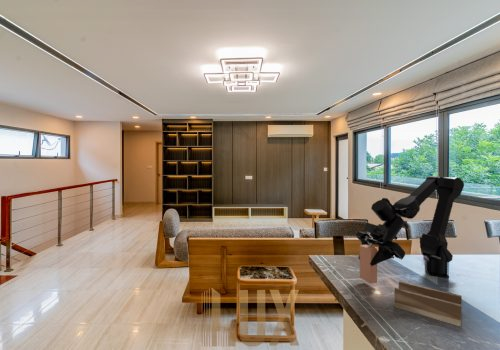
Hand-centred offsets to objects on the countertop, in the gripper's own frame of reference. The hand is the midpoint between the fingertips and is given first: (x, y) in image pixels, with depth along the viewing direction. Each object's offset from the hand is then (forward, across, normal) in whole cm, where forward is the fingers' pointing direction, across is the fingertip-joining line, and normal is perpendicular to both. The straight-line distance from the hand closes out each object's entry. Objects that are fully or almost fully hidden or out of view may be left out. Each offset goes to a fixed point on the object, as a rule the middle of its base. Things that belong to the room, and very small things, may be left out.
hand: (365, 262), depth 95 cm
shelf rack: (+2, +19, +10) cm, 22 cm away
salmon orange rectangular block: (+4, 0, +6) cm, 7 cm away
